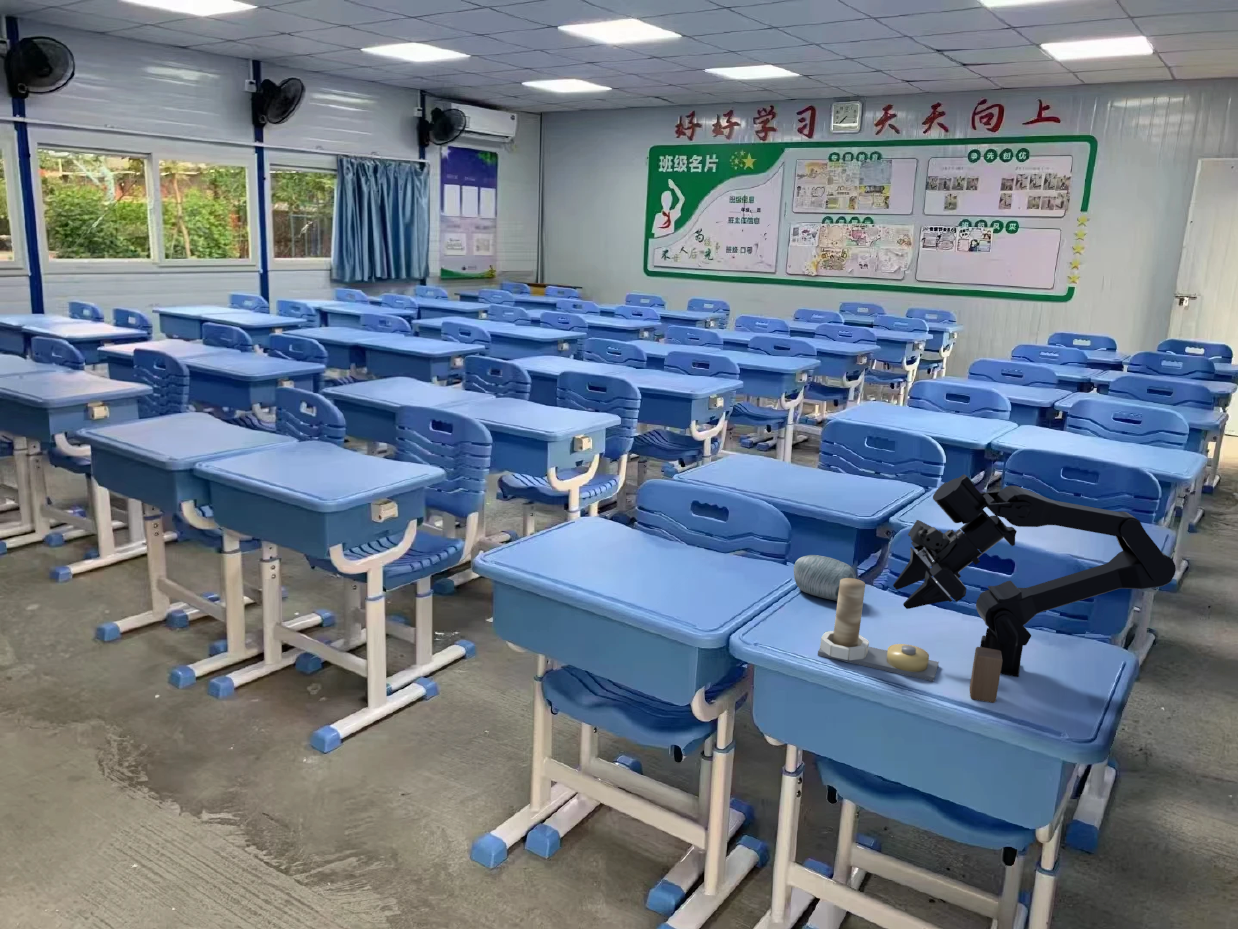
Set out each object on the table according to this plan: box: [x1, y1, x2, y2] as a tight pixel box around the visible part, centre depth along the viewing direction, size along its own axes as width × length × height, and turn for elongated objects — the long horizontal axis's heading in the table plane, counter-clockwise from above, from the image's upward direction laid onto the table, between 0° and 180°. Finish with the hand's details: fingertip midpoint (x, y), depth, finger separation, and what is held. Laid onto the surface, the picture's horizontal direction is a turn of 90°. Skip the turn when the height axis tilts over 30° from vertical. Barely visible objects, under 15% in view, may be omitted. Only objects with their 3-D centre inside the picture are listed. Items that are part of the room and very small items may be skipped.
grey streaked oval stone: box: [793, 554, 857, 602], centre depth 199 cm, size 14×10×10 cm
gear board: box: [817, 630, 940, 682], centre depth 168 cm, size 20×8×4 cm, turn 65°
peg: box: [832, 578, 866, 647], centre depth 169 cm, size 4×4×13 cm
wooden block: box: [969, 646, 1002, 704], centre depth 157 cm, size 4×4×8 cm
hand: (899, 597), depth 168 cm, fingers open, 9 cm apart
